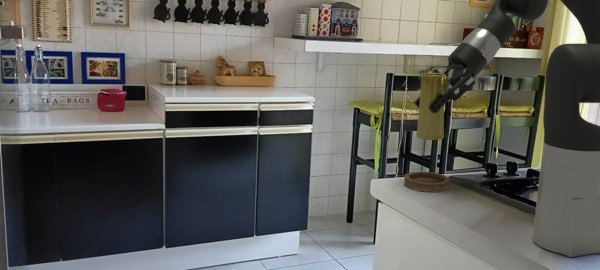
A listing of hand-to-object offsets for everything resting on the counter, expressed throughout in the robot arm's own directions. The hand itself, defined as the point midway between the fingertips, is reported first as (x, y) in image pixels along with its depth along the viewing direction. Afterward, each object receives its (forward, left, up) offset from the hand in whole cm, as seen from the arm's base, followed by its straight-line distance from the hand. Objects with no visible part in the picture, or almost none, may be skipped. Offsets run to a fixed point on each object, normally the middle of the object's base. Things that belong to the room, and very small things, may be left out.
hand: (424, 108), depth 111 cm
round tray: (0, -2, -18) cm, 18 cm away
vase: (0, -2, -7) cm, 7 cm away
